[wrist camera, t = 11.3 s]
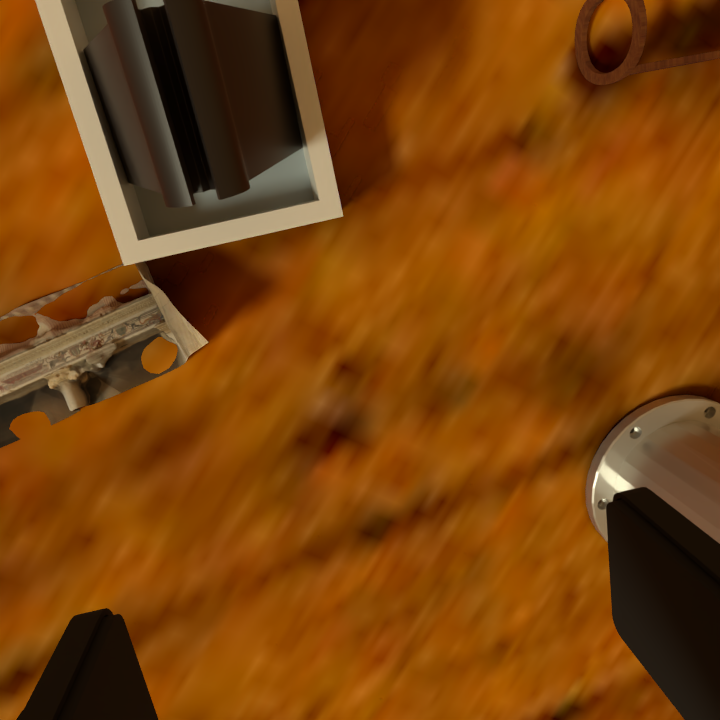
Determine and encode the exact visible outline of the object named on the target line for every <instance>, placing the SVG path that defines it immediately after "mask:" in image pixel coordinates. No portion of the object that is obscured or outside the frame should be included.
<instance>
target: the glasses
mask: <svg viewBox="0 0 720 720" xmlns="http://www.w3.org/2000/svg"><path fill="white" fill-rule="evenodd" d="M602 1H603V0H587V1H586V2H585V3H584V5H583V7H582V9H581V11H580V13H579V16H578V19H577V24H576V30H575V50H576V58H577V62H578V66H579V68H580V70H581V73H582V74H583V76H584V77H585V78H586V79H587V80H588V81H589V82H591V83H593V84H596V85H605V84H611V83H615V82H618V81H620V80H622V79H623V78H625V77H626V76H627V75H632V74H637V73H643V72H648V71H654V70H659V69H664V68H670V67H675V66H681V65H686V64H692V63H697V62H703V61H708V60H713V59H718V58H720V50H719V51H713V52H707V53H702V54H696V55H691V56H685V57H679V58H674V59H668V60H663V61H657V62H651V63H646V64H640V65H637V63H638V62H639V59H640V57H641V55H642V53H643V49H644V45H645V40H646V33H647V17H646V9H645V5H644V1H643V0H625V1H626V3H627V4H628V7H629V9H630V12H631V16H632V23H633V34H632V42H631V46H630V50H629V52H628V54H627V57H626V58H625V60H624V61H623V63H622V64H621V65H620V66H619V67H618V68H617V69H615V70H614V71H612V72H610V73H602V72H600V71H598V70H597V69H595V68H594V66H593V65H592V63H591V61H590V58H589V55H588V50H587V29H588V25H589V21H590V18H591V15H592V13H593V12H594V10H595V8H596V7H597V6H598V5H599V4H600V3H601V2H602Z"/></svg>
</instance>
